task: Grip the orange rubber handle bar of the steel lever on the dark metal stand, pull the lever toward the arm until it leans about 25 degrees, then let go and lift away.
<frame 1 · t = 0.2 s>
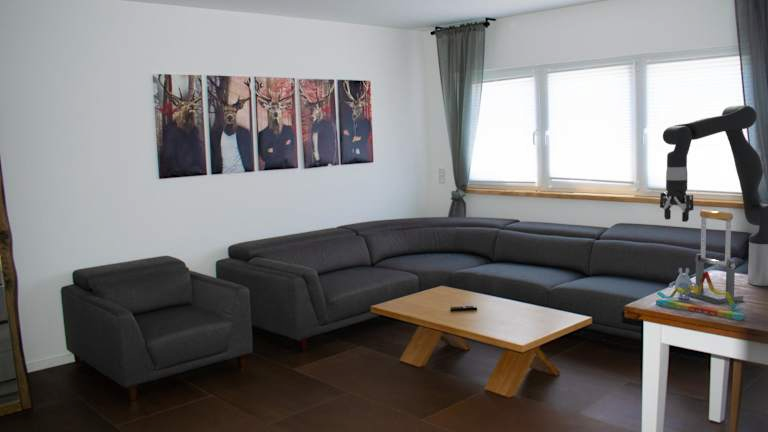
hand: (676, 220, 264), 30 cm above the table, tool pointing down, fingers open, 8 cm apart
lever: (715, 238, 260), point 23 cm above the table, hinge at 0.0°
lever stand: (714, 298, 263), on the table
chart: (697, 312, 245), on the table
toy figure: (683, 298, 264), on the table
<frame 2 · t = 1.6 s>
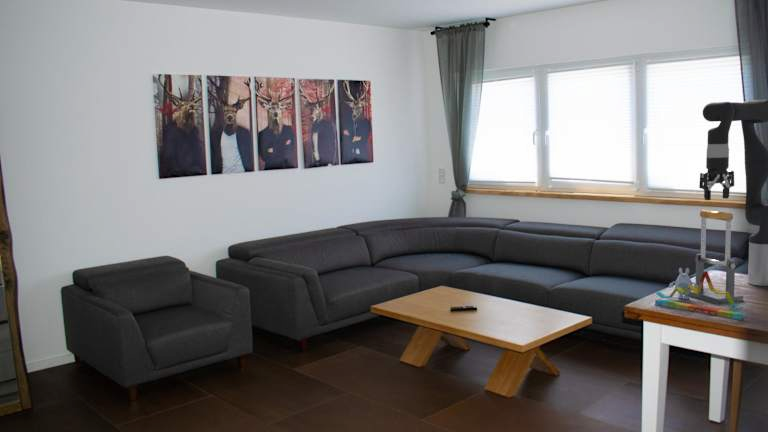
hand: (716, 199, 258), 38 cm above the table, tool pointing down, fingers open, 8 cm apart
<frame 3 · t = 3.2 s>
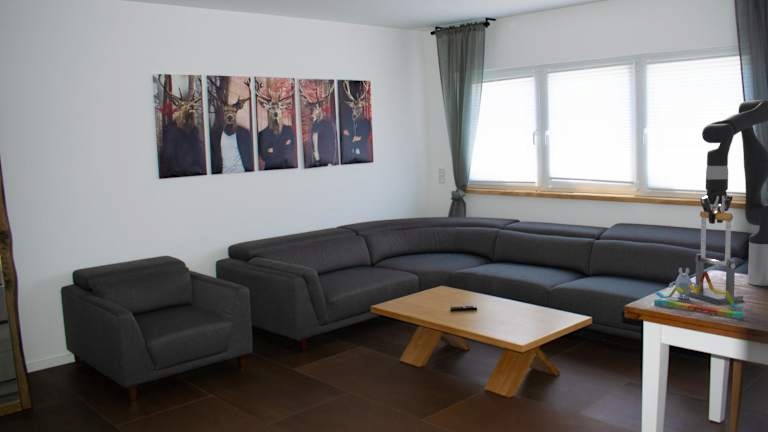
hand: (715, 222, 259), 29 cm above the table, tool pointing down, fingers closed on lever, 3 cm apart
lever: (715, 238, 260), point 23 cm above the table, hinge at 0.0°, touching gripper
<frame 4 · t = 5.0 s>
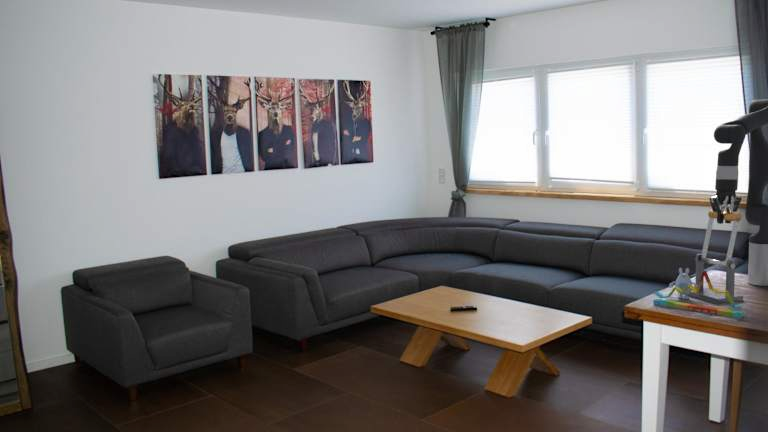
hand: (724, 223, 260), 29 cm above the table, tool pointing down, fingers closed on lever, 3 cm apart
lever: (719, 238, 260), point 23 cm above the table, hinge at 13.2°, touching gripper
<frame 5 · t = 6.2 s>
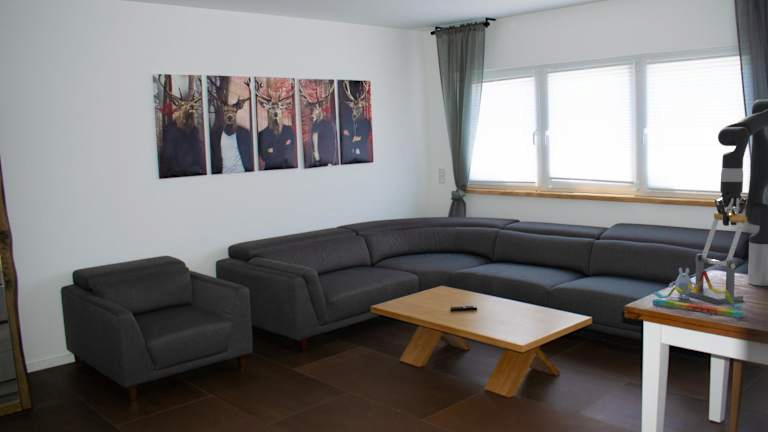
hand: (729, 225, 261), 28 cm above the table, tool pointing down, fingers closed on lever, 3 cm apart
lever: (722, 239, 261), point 23 cm above the table, hinge at 22.2°, touching gripper
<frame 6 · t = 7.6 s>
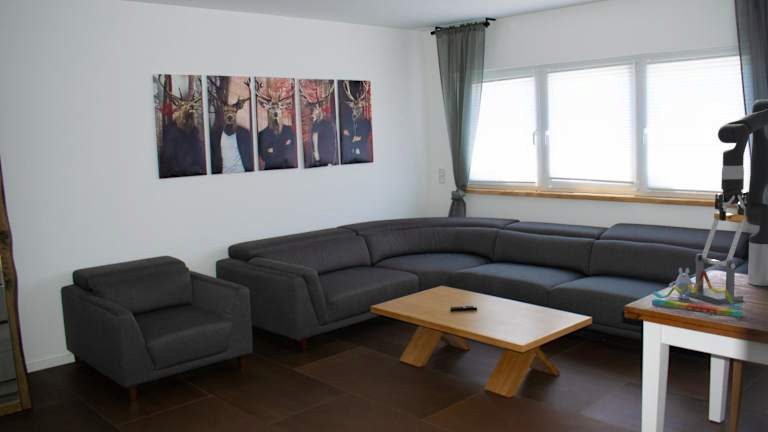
hand: (731, 219, 261), 30 cm above the table, tool pointing down, fingers open, 8 cm apart
lever: (722, 239, 261), point 23 cm above the table, hinge at 22.5°
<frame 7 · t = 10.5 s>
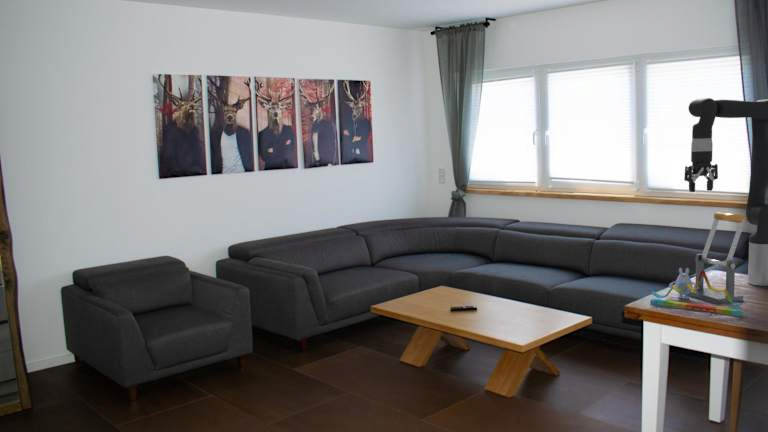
hand: (700, 191, 270), 40 cm above the table, tool pointing down, fingers open, 8 cm apart
at the end: lever at +22° (first picture: +0°); the gripper is holding nothing; toy figure moved 0.2 cm from its start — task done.
